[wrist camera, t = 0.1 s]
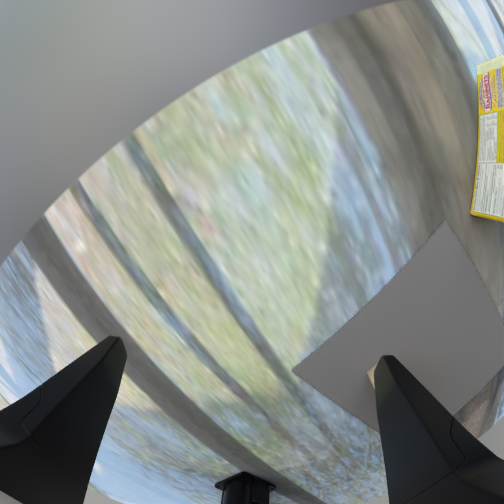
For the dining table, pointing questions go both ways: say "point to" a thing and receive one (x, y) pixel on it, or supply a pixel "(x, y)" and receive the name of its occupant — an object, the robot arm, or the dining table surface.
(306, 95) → the dining table surface
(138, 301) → the dining table surface
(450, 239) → the mat
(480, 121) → the candy box
